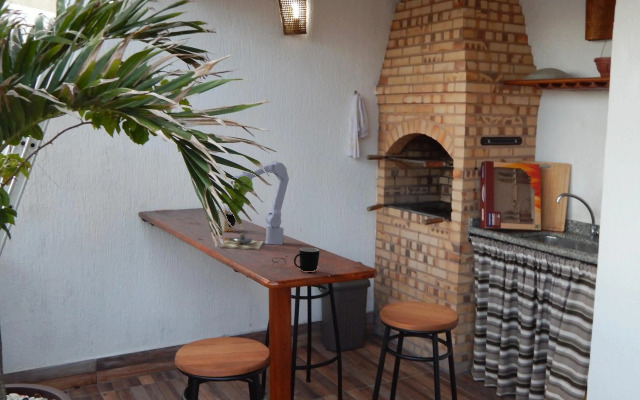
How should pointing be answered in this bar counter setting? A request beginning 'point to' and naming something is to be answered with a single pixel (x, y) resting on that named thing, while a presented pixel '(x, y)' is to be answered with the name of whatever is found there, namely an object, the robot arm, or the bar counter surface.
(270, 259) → the bar counter surface
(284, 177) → the robot arm
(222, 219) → the supplement box
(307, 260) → the mug
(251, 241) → the flange
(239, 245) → the base
